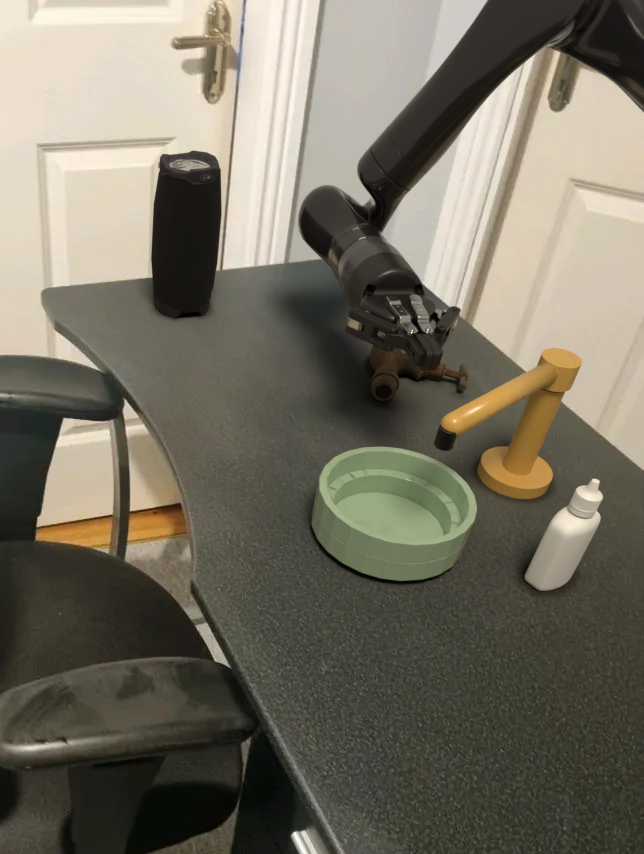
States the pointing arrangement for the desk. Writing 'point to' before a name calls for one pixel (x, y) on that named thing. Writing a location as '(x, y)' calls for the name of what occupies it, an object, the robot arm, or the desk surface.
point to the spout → (511, 394)
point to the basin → (392, 513)
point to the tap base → (523, 452)
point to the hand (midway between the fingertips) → (431, 362)
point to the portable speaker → (186, 232)
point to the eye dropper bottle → (566, 539)
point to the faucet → (400, 363)
